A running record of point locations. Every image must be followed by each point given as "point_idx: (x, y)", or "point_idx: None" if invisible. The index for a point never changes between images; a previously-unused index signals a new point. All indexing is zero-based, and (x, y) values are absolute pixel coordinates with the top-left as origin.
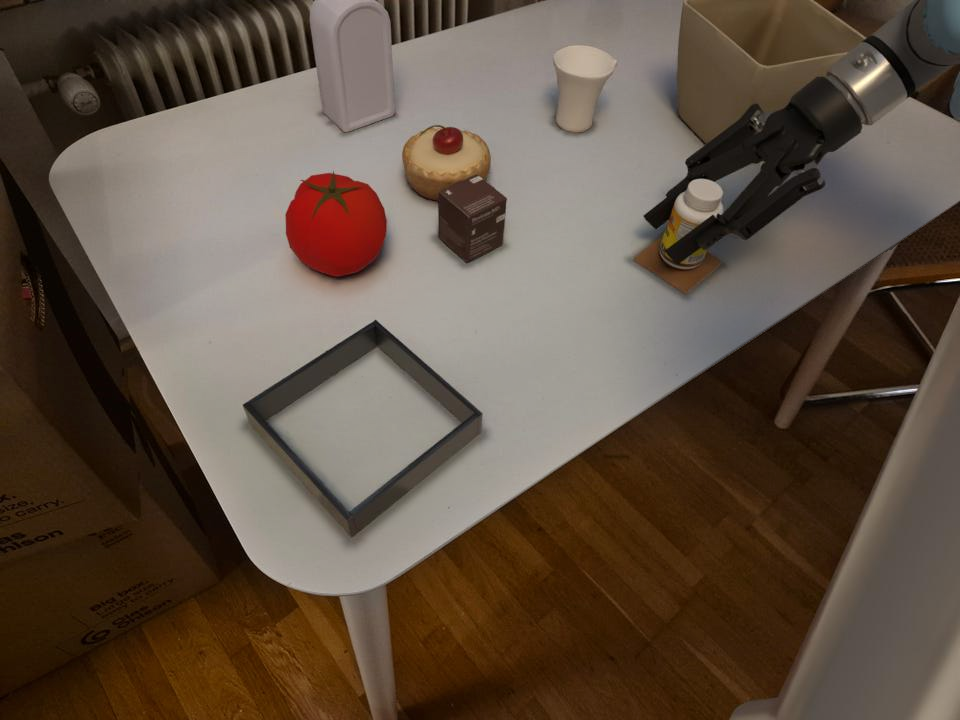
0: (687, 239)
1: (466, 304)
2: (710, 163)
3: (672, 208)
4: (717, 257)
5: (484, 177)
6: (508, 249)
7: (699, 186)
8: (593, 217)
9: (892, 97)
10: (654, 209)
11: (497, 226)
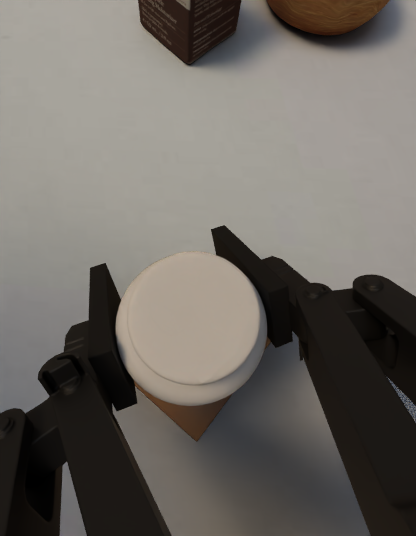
0: (90, 296)
1: (59, 26)
2: (345, 341)
3: None
4: (205, 428)
5: (308, 6)
6: (180, 73)
7: (208, 291)
8: (285, 194)
9: None
10: (227, 236)
11: (176, 10)
